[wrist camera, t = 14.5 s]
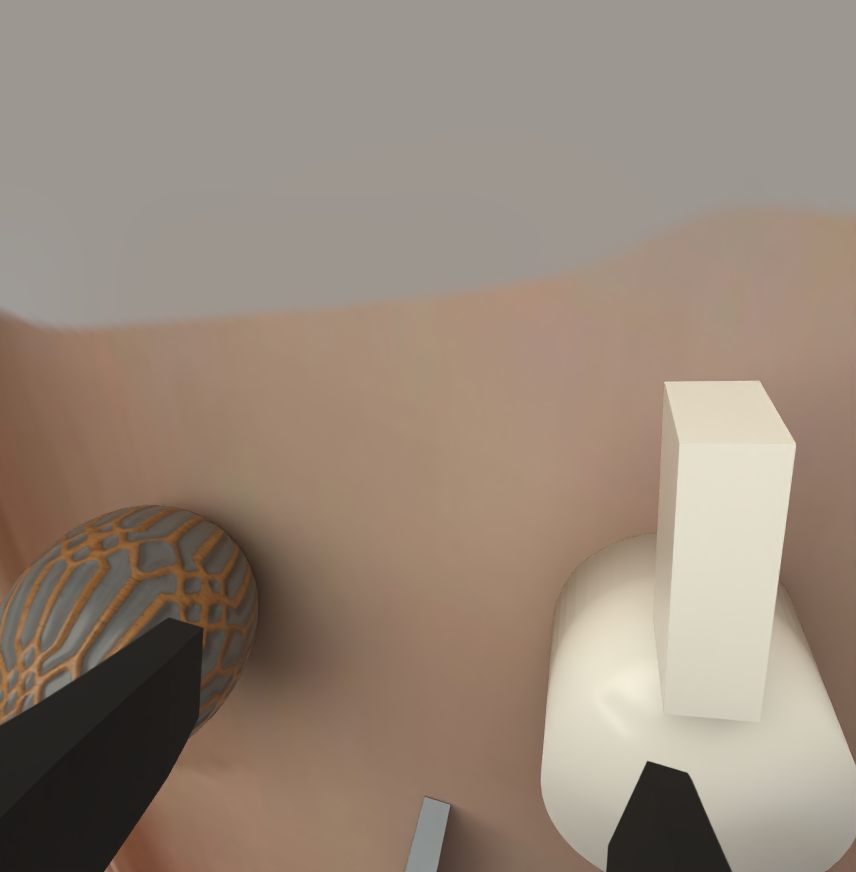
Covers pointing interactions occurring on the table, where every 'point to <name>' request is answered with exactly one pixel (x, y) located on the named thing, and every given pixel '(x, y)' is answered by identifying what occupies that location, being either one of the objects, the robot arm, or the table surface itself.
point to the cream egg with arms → (700, 655)
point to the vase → (126, 603)
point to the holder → (428, 837)
